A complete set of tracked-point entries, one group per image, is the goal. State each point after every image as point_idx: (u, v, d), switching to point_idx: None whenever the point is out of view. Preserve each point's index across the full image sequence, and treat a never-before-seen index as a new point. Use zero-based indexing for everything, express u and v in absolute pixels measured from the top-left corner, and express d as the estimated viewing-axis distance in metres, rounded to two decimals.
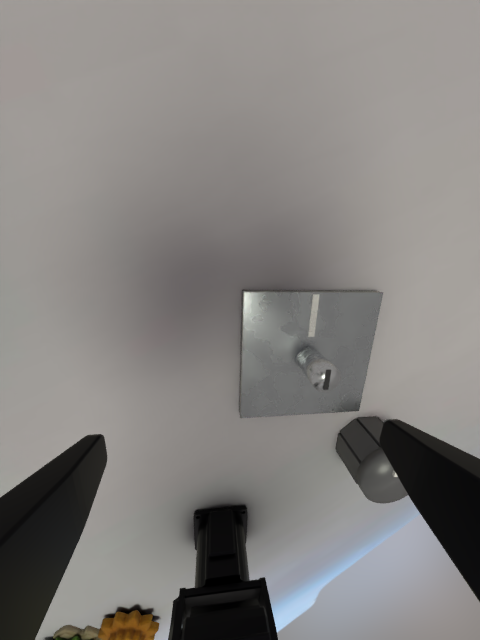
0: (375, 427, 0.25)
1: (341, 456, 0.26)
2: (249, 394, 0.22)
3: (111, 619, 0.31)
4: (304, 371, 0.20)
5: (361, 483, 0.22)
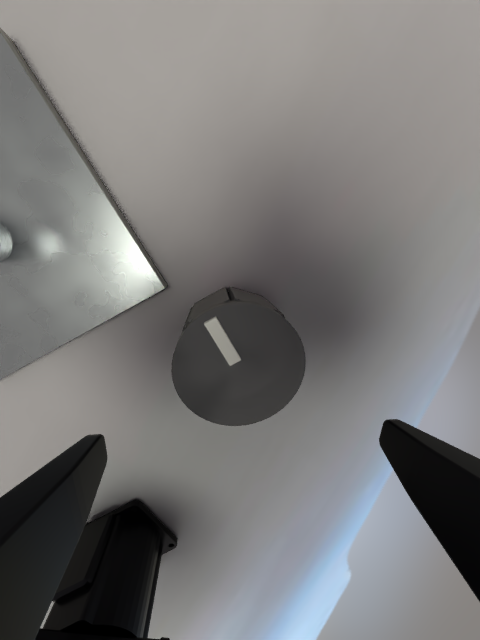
0: (207, 301, 0.13)
1: None
2: None
3: None
4: None
5: (186, 404, 0.11)
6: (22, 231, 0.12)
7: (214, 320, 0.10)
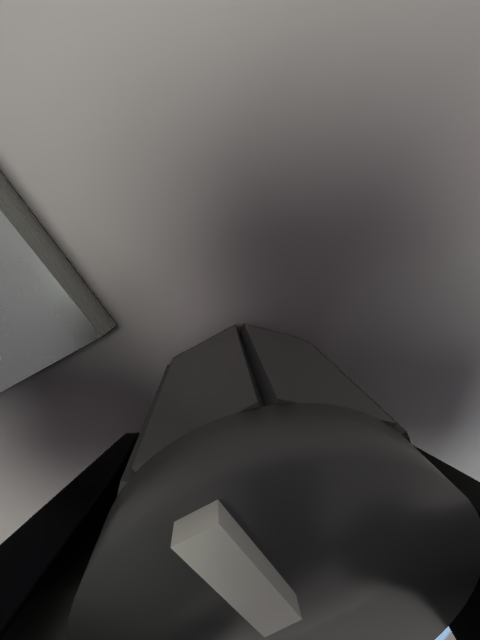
0: (197, 366, 0.06)
1: None
2: None
3: None
4: None
5: None
6: None
7: (212, 530, 0.03)
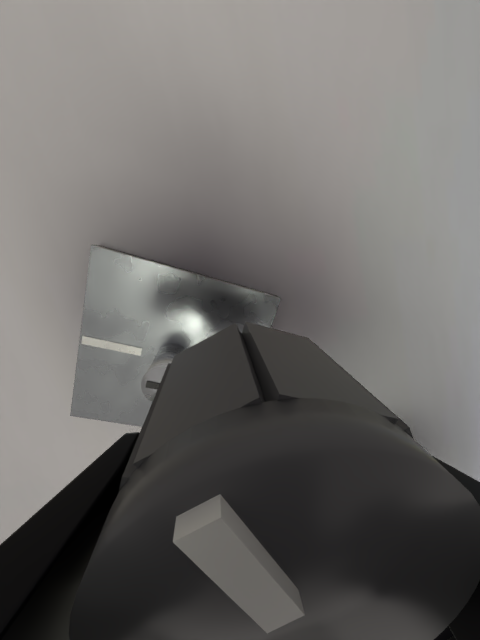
0: (199, 364, 0.06)
1: None
2: None
3: None
4: None
5: None
6: (185, 338, 0.17)
7: (215, 524, 0.02)
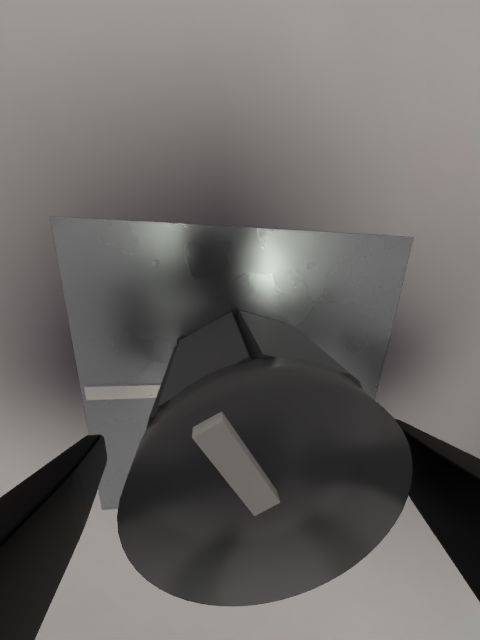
0: (201, 343, 0.07)
1: None
2: None
3: None
4: None
5: (157, 581, 0.05)
6: None
7: (218, 426, 0.04)
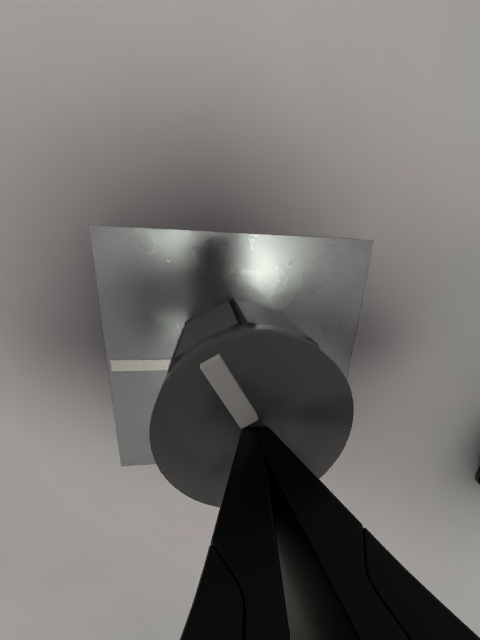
0: (204, 321, 0.10)
1: None
2: None
3: None
4: None
5: (173, 483, 0.07)
6: None
7: (216, 361, 0.06)
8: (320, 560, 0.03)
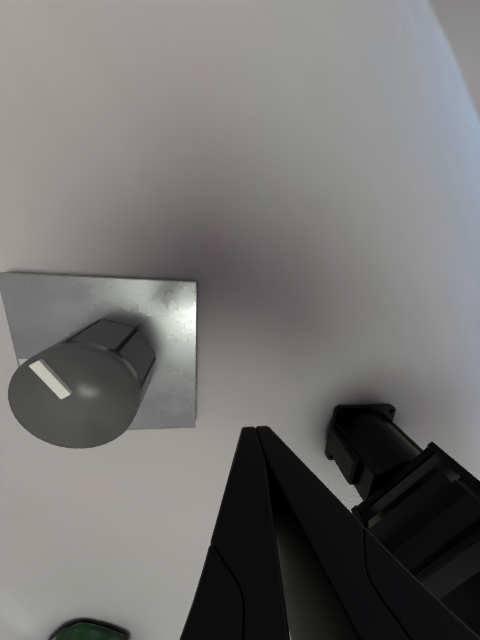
0: (69, 335, 0.15)
1: None
2: (162, 420, 0.20)
3: None
4: None
5: (30, 431, 0.13)
6: None
7: (38, 362, 0.12)
8: (320, 560, 0.03)
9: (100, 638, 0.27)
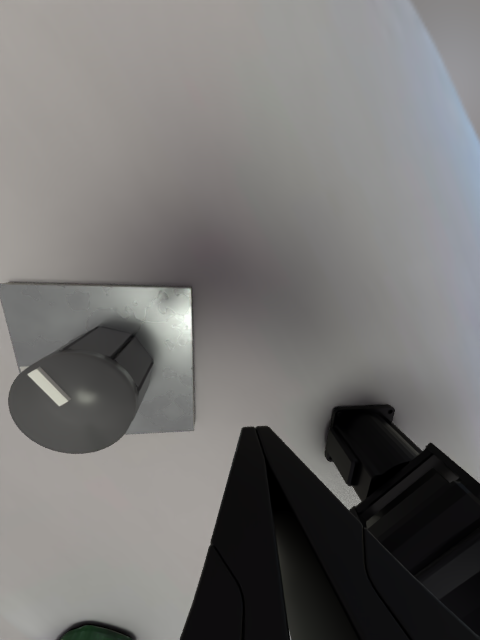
0: (68, 343, 0.15)
1: None
2: (161, 424, 0.20)
3: None
4: None
5: (30, 437, 0.13)
6: None
7: (36, 370, 0.12)
8: (320, 560, 0.03)
9: None
